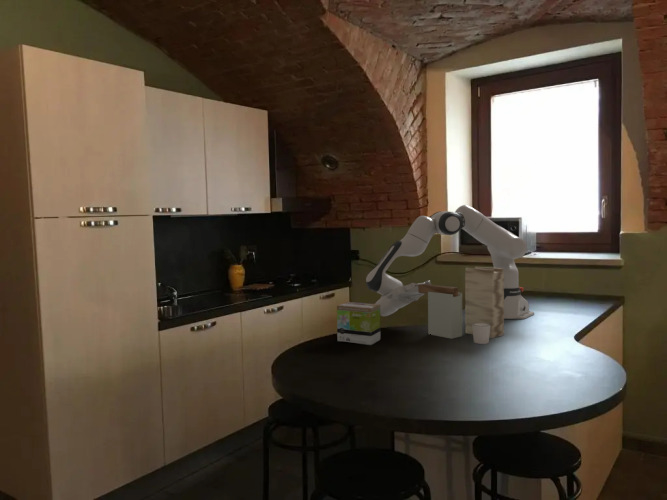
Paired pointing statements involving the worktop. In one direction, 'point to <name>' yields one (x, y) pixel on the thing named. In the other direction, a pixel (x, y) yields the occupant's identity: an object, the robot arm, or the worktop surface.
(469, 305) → the shelf block
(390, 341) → the worktop surface
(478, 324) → the grey brown short cylinder
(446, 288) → the walnut bar
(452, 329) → the block
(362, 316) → the tea box
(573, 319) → the worktop surface
